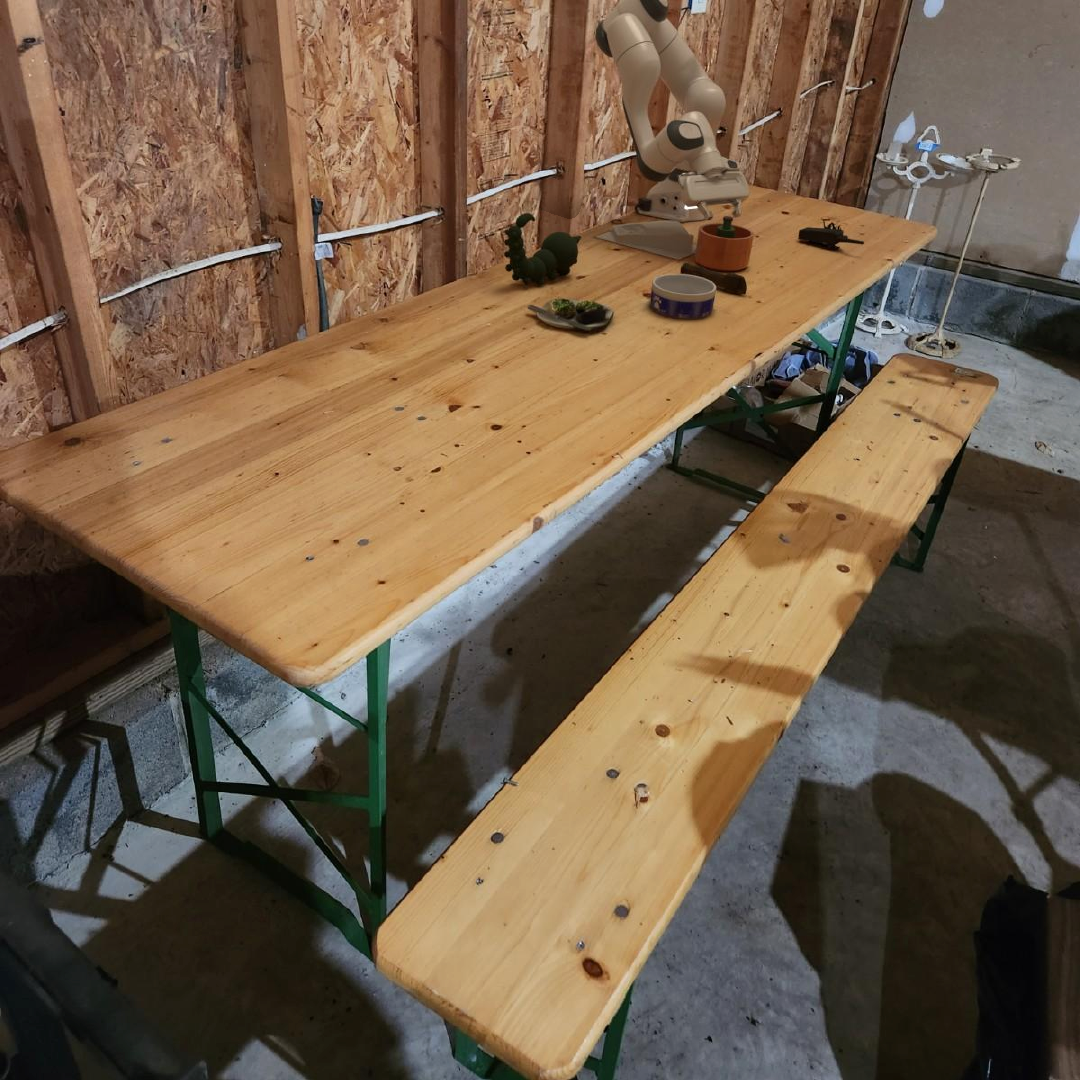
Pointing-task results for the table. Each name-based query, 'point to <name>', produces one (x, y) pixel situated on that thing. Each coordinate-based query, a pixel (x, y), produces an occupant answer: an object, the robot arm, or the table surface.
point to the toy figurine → (540, 254)
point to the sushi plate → (574, 314)
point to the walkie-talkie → (825, 237)
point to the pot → (723, 248)
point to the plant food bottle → (726, 228)
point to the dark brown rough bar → (718, 278)
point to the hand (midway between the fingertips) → (723, 217)
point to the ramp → (654, 238)
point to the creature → (832, 225)
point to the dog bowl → (682, 296)
